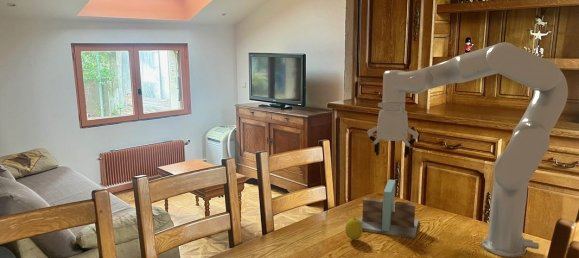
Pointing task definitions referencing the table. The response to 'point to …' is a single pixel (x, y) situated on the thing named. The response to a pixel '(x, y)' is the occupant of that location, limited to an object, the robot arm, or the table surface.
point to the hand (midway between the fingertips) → (391, 155)
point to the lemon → (353, 228)
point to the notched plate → (388, 204)
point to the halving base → (392, 229)
